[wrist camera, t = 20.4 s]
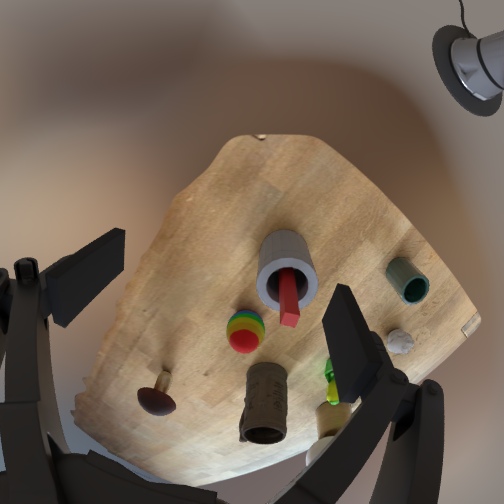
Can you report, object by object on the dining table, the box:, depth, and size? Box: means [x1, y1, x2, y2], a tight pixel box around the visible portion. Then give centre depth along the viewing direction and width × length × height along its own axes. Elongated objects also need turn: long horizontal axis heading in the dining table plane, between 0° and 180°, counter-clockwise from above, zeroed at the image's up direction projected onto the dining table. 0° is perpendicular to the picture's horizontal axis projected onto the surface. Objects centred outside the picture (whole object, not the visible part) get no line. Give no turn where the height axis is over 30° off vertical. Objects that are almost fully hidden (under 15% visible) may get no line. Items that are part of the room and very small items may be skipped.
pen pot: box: [386, 257, 430, 305], centre depth 49 cm, size 7×7×9 cm
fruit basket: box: [324, 359, 339, 405], centre depth 59 cm, size 11×9×11 cm
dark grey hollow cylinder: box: [239, 363, 288, 444], centre depth 59 cm, size 15×11×20 cm
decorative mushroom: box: [137, 371, 176, 416], centre depth 63 cm, size 11×11×15 cm
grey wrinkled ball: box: [387, 329, 414, 354], centre depth 56 cm, size 6×7×7 cm
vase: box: [256, 230, 318, 311], centre depth 47 cm, size 9×9×14 cm
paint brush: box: [277, 267, 300, 328], centre depth 43 cm, size 3×3×22 cm
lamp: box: [306, 402, 352, 466], centre depth 60 cm, size 15×14×25 cm
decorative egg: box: [227, 310, 265, 353], centre depth 56 cm, size 8×8×10 cm
